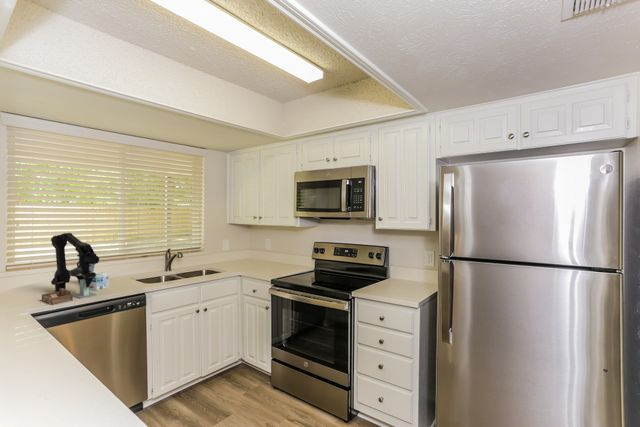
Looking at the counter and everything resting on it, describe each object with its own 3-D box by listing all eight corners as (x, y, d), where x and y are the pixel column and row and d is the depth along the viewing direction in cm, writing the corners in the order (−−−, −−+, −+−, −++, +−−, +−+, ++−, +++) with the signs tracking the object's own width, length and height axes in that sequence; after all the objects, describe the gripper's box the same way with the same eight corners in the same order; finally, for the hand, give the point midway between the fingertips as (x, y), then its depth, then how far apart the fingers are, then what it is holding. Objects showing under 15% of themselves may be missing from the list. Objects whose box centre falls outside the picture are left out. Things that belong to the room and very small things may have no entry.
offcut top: (50, 298, 205) (50, 294, 205) (56, 297, 207) (56, 294, 207) (51, 300, 199) (51, 297, 199) (57, 299, 201) (57, 296, 201)
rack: (41, 300, 204) (41, 291, 204) (61, 297, 213) (61, 288, 213) (52, 304, 196) (52, 294, 196) (72, 300, 205) (72, 291, 205)
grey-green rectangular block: (79, 294, 217) (79, 279, 217) (84, 293, 220) (84, 279, 220) (83, 295, 215) (83, 280, 214) (88, 294, 217) (88, 279, 217)
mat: (71, 295, 216) (71, 295, 216) (88, 292, 225) (88, 292, 225) (79, 298, 210) (79, 297, 210) (97, 295, 218) (97, 294, 218)
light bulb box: (96, 290, 231) (96, 275, 231) (89, 290, 232) (88, 275, 232) (109, 287, 241) (109, 272, 241) (101, 286, 243) (101, 272, 243)
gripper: (63, 263, 215) (63, 287, 215) (76, 266, 205) (76, 291, 205) (83, 261, 225) (83, 284, 225) (96, 263, 215) (96, 287, 215)
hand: (84, 286), depth 217 cm, fingers open, 9 cm apart
